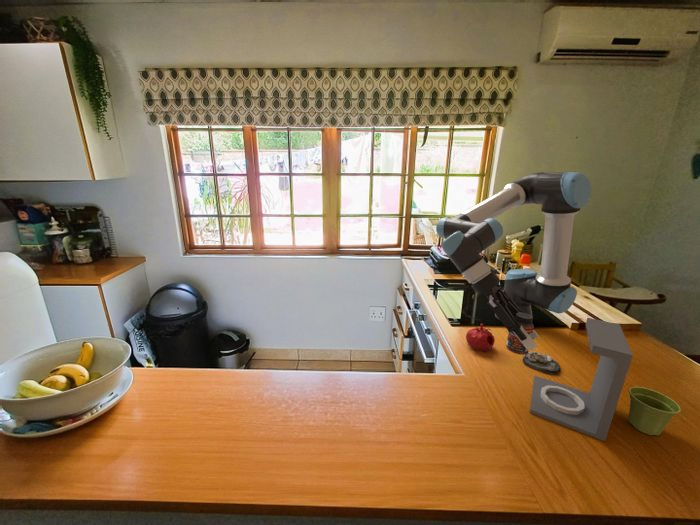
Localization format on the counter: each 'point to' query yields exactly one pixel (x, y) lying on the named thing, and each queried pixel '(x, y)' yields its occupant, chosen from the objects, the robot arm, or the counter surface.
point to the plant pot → (650, 410)
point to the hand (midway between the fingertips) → (533, 343)
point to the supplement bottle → (512, 340)
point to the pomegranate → (480, 338)
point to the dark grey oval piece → (541, 362)
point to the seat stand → (599, 405)
